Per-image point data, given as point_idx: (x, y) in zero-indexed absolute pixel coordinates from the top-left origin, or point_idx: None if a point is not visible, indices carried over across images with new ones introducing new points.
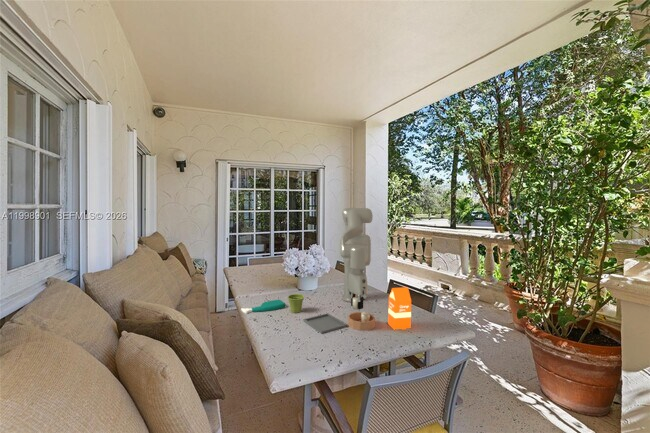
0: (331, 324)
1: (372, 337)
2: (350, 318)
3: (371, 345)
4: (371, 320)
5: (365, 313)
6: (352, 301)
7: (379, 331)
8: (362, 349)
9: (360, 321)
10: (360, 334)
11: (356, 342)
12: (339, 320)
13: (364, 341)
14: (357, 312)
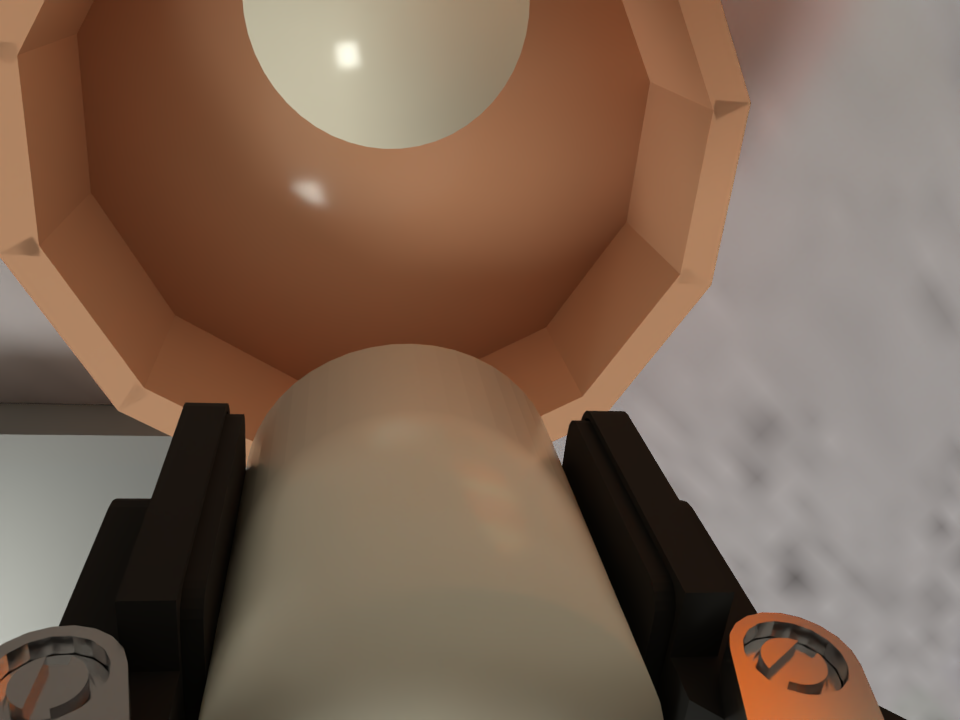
0: (36, 596)
1: (841, 317)
2: (108, 269)
3: (954, 494)
4: (713, 124)
5: (400, 22)
6: None
7: (811, 19)
8: (914, 636)
9: (243, 32)
10: (635, 401)
11: (754, 595)
12: (1, 452)
13: (820, 497)
14: (24, 7)
